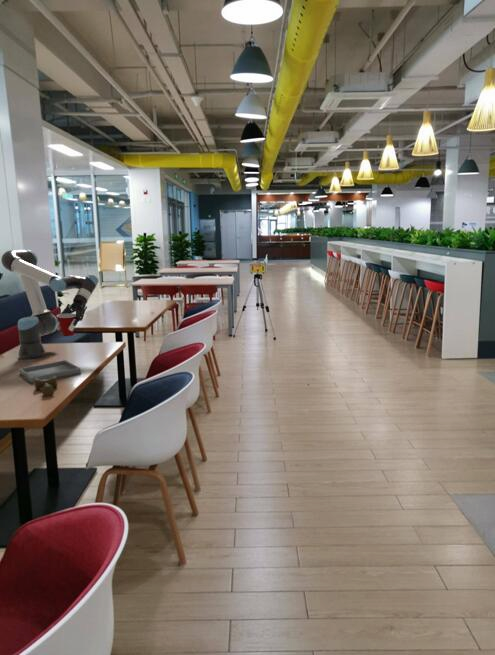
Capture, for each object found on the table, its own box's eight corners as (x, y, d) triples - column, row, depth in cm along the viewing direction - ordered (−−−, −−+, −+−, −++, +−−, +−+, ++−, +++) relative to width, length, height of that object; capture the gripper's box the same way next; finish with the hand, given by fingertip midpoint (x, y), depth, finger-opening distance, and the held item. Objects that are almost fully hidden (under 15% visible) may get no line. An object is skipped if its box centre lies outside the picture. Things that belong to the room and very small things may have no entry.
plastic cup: (72, 337, 279) (70, 316, 276) (54, 337, 281) (52, 316, 279) (82, 333, 289) (80, 312, 287) (65, 333, 291) (63, 312, 289)
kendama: (37, 399, 222) (34, 386, 239) (60, 396, 226) (56, 384, 243) (36, 386, 221) (33, 374, 238) (59, 383, 225) (54, 372, 242)
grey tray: (20, 374, 263) (19, 368, 263) (66, 365, 277) (65, 360, 277) (32, 383, 244) (31, 378, 244) (80, 373, 258) (80, 368, 258)
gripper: (99, 302, 290) (82, 334, 279) (72, 301, 300) (54, 332, 290) (92, 294, 284) (73, 326, 274) (64, 293, 295) (45, 324, 284)
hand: (63, 329), depth 282 cm, fingers closed on plastic cup, 9 cm apart
